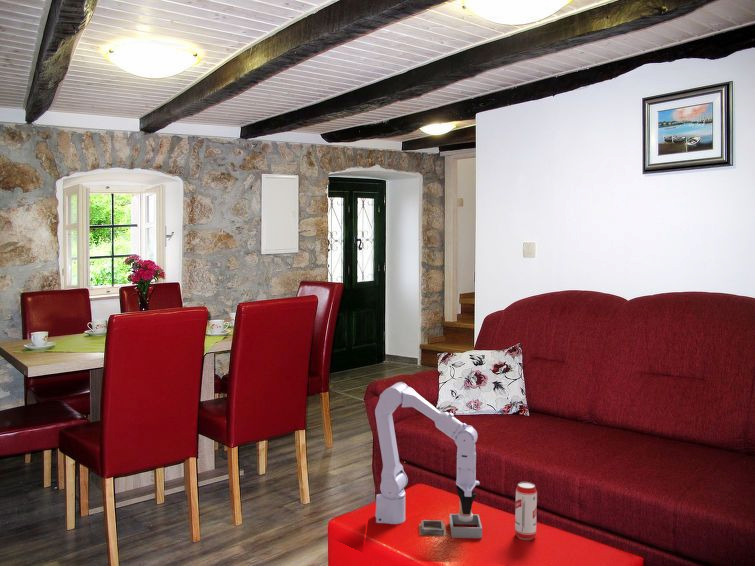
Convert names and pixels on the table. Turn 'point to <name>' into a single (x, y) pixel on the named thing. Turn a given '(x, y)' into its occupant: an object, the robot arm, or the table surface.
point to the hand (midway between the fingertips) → (465, 511)
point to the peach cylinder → (464, 515)
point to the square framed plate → (432, 528)
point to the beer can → (525, 511)
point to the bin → (465, 531)
